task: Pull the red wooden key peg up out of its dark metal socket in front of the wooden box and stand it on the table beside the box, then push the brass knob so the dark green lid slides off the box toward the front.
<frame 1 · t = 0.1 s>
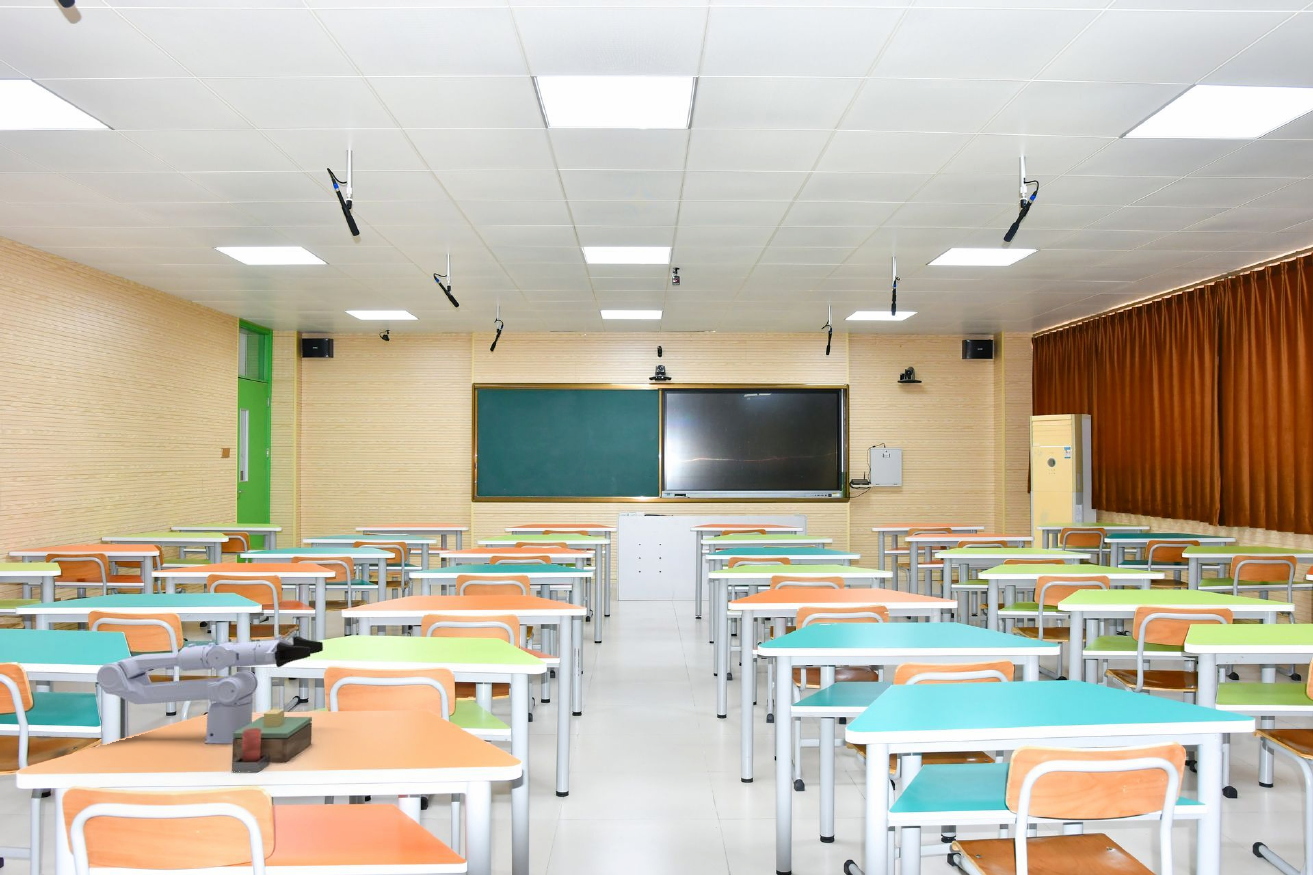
hand: (316, 649, 214), 21 cm above the table, tool horizontal, fingers open, 7 cm apart
lid: (273, 720, 202), point 7 cm above the table, slide at 0.0 cm
key peg: (251, 749, 191), in the key socket
key socket: (250, 767, 191), on the table
wooden box: (273, 752, 202), on the table
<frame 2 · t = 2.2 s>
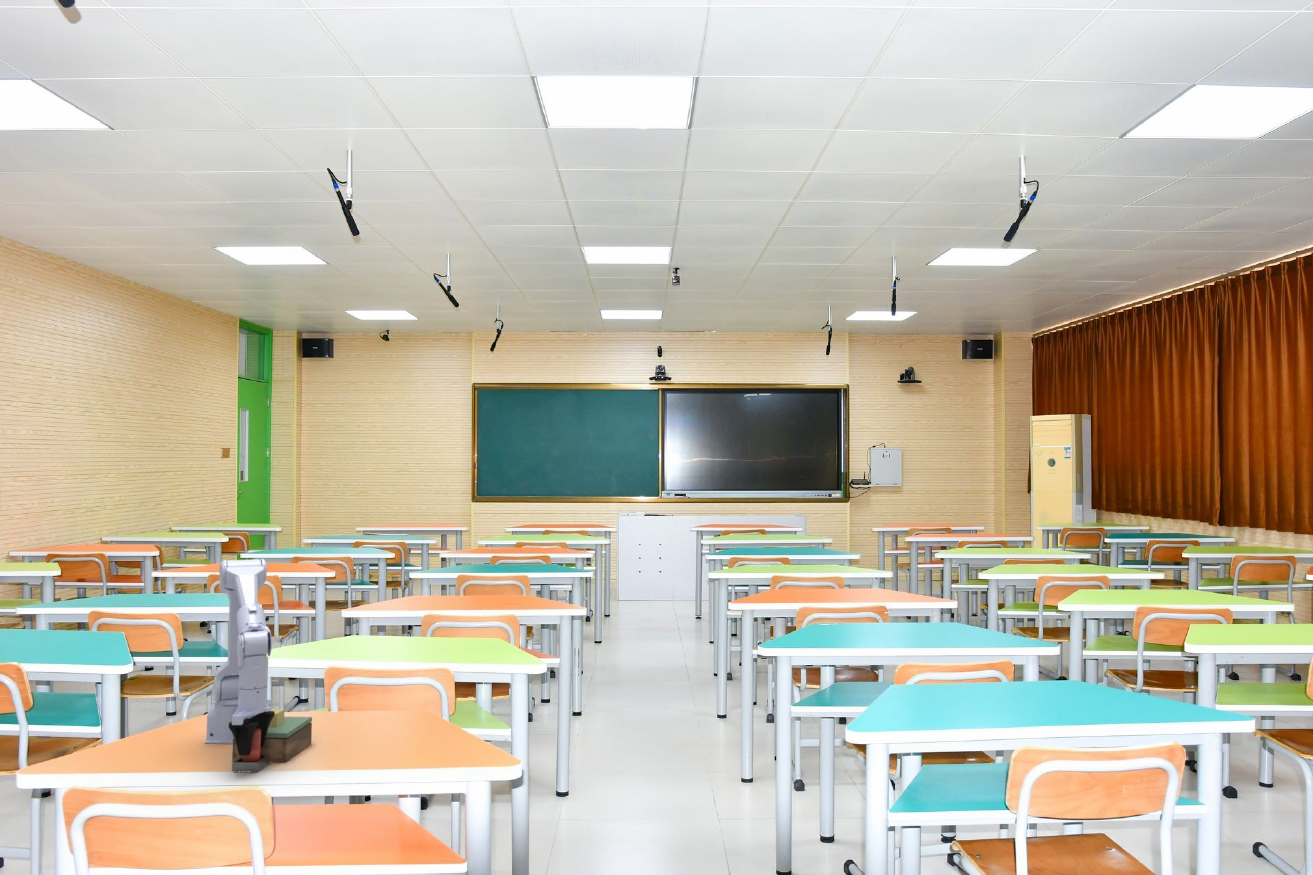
hand: (251, 750, 191), 4 cm above the table, tool pointing down, fingers open, 6 cm apart
lid: (274, 720, 202), point 7 cm above the table, slide at -0.1 cm, touching gripper
everything else where it was.
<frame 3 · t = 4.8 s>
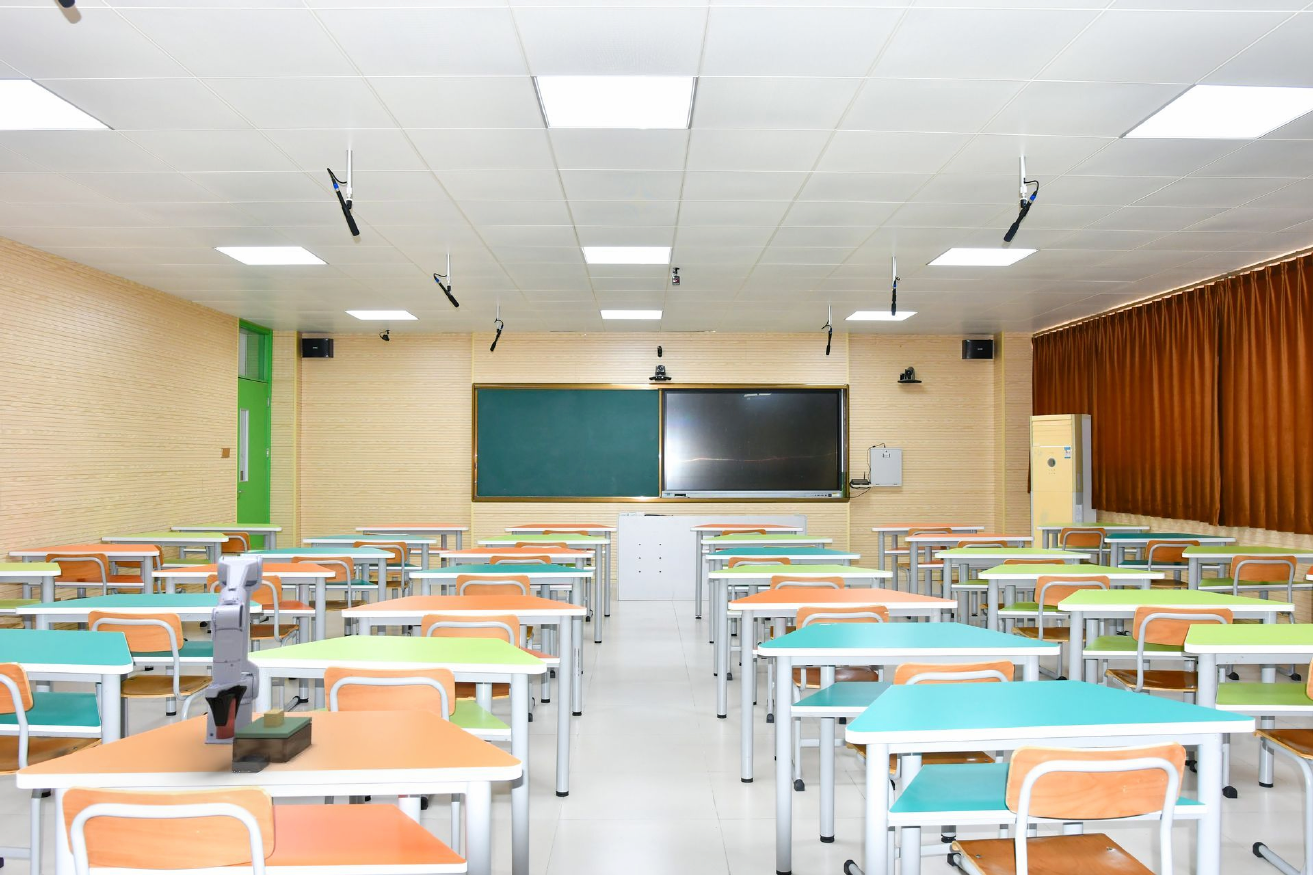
hand: (225, 723, 192), 9 cm above the table, tool pointing down, fingers closed on key peg, 4 cm apart
lid: (274, 720, 202), point 7 cm above the table, slide at 0.0 cm
key peg: (225, 718, 192), point 10 cm above the table, touching gripper
when the fingers open (4 cm above the table, at t = 6.5 s): key peg stays where it is, on the table.
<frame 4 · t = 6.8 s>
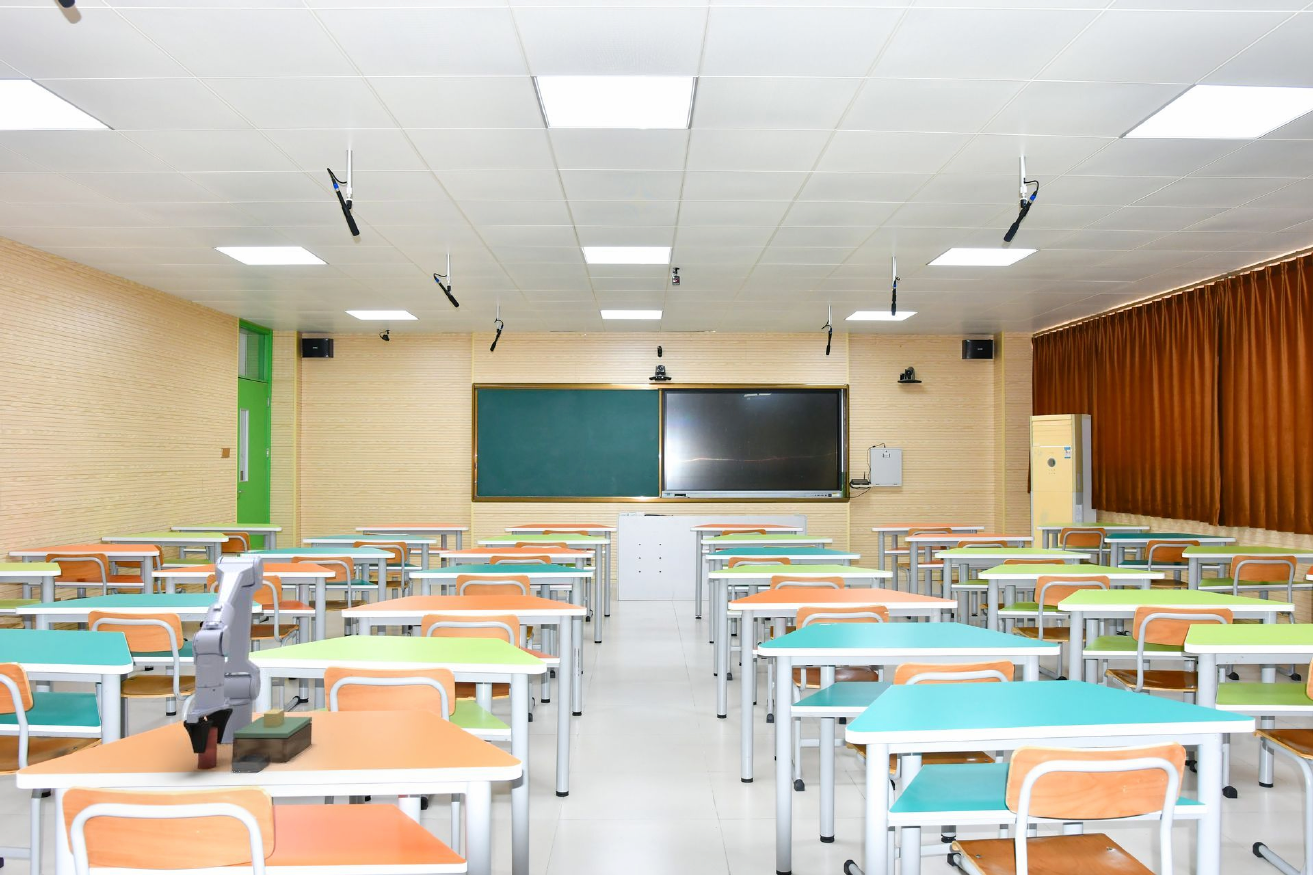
hand: (207, 747, 192), 4 cm above the table, tool pointing down, fingers open, 6 cm apart
key peg: (207, 747, 192), on the table
everything else where it was.
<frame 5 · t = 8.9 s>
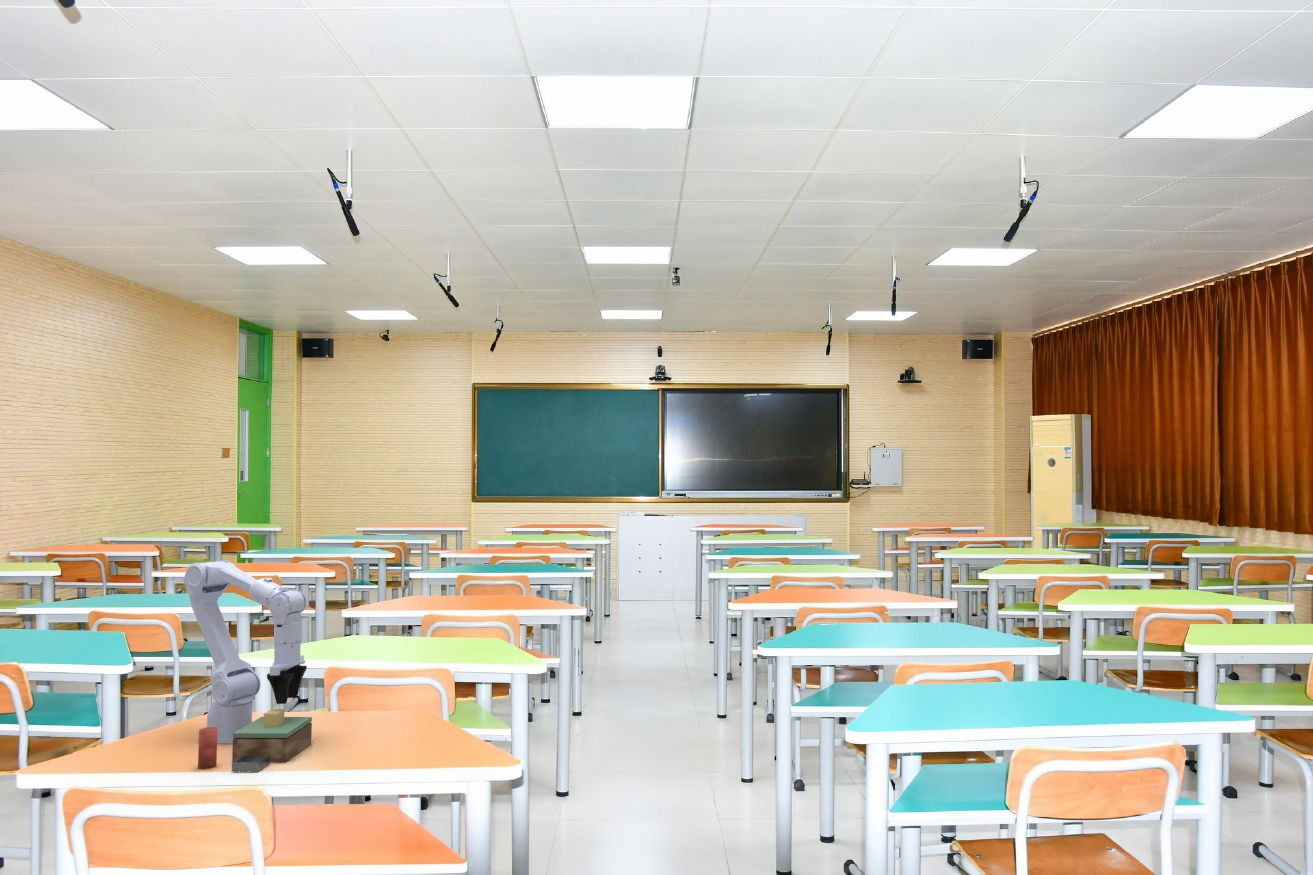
hand: (286, 700, 208), 10 cm above the table, tool pointing down, fingers open, 5 cm apart
nothing on the table moved.
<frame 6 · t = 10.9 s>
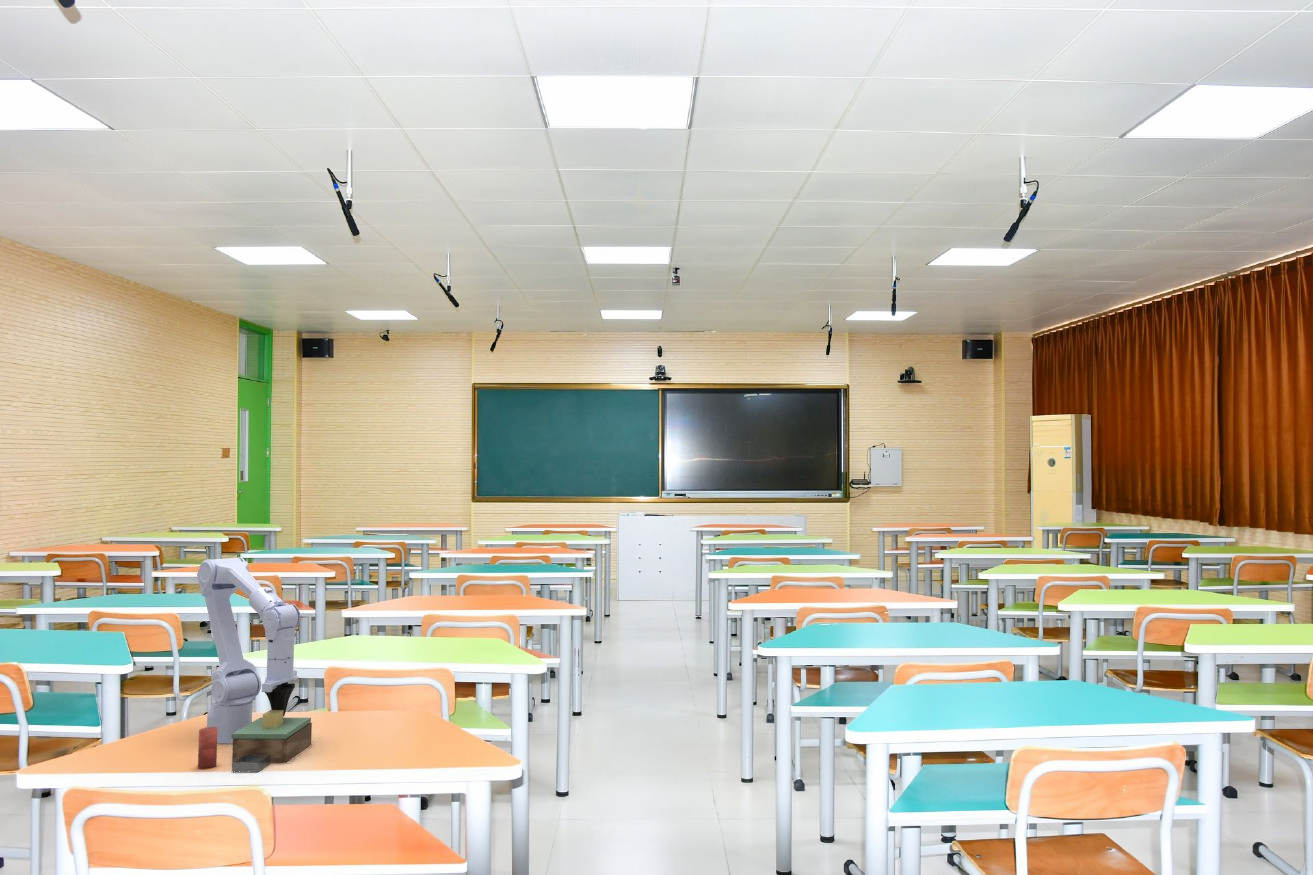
hand: (278, 716, 205), 7 cm above the table, tool pointing down, fingers closed
lid: (272, 720, 201), point 7 cm above the table, slide at 0.6 cm, touching gripper
everything else where it was.
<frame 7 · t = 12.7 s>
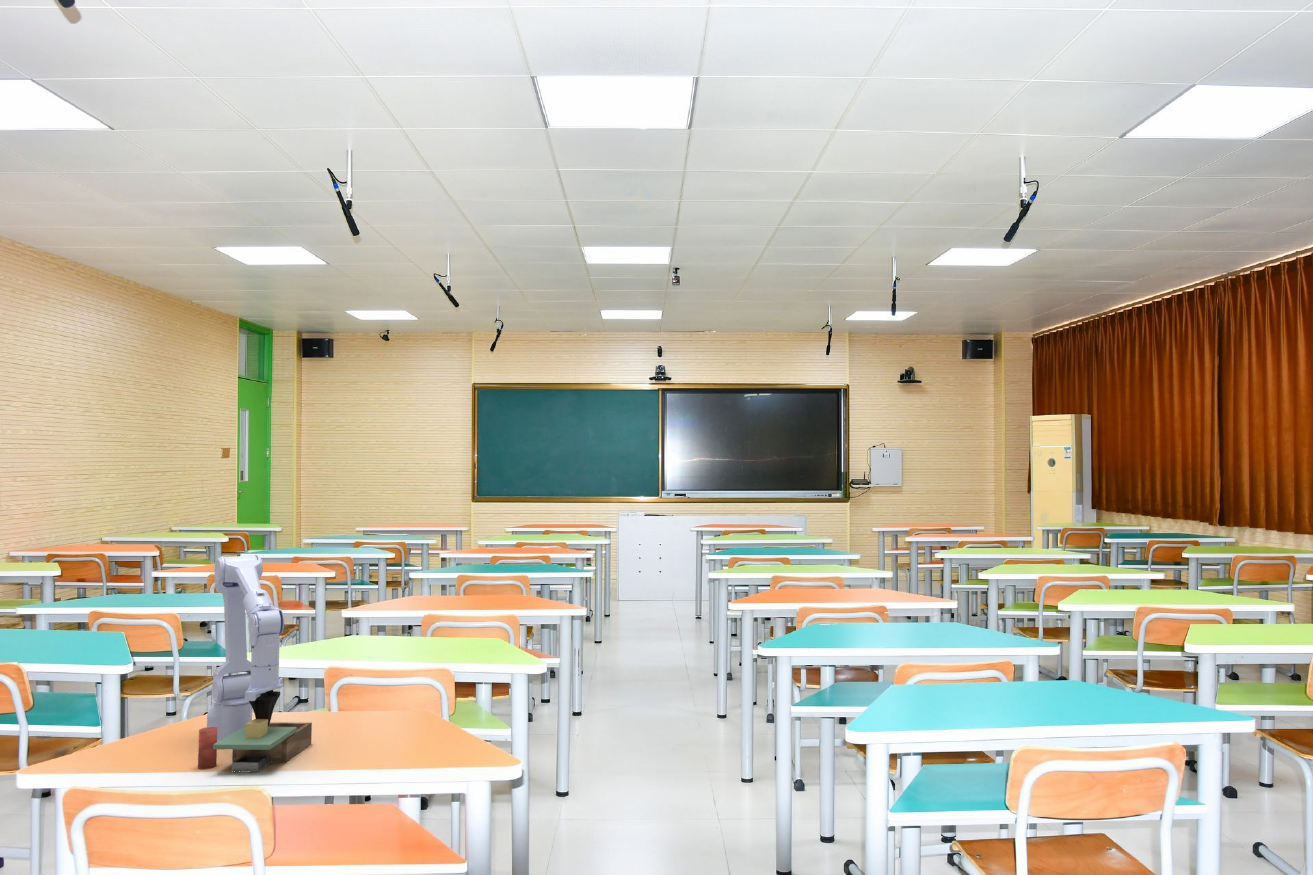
hand: (263, 726, 197), 7 cm above the table, tool pointing down, fingers closed
lid: (256, 730, 193), point 7 cm above the table, slide at 8.7 cm, touching gripper
everything else where it was.
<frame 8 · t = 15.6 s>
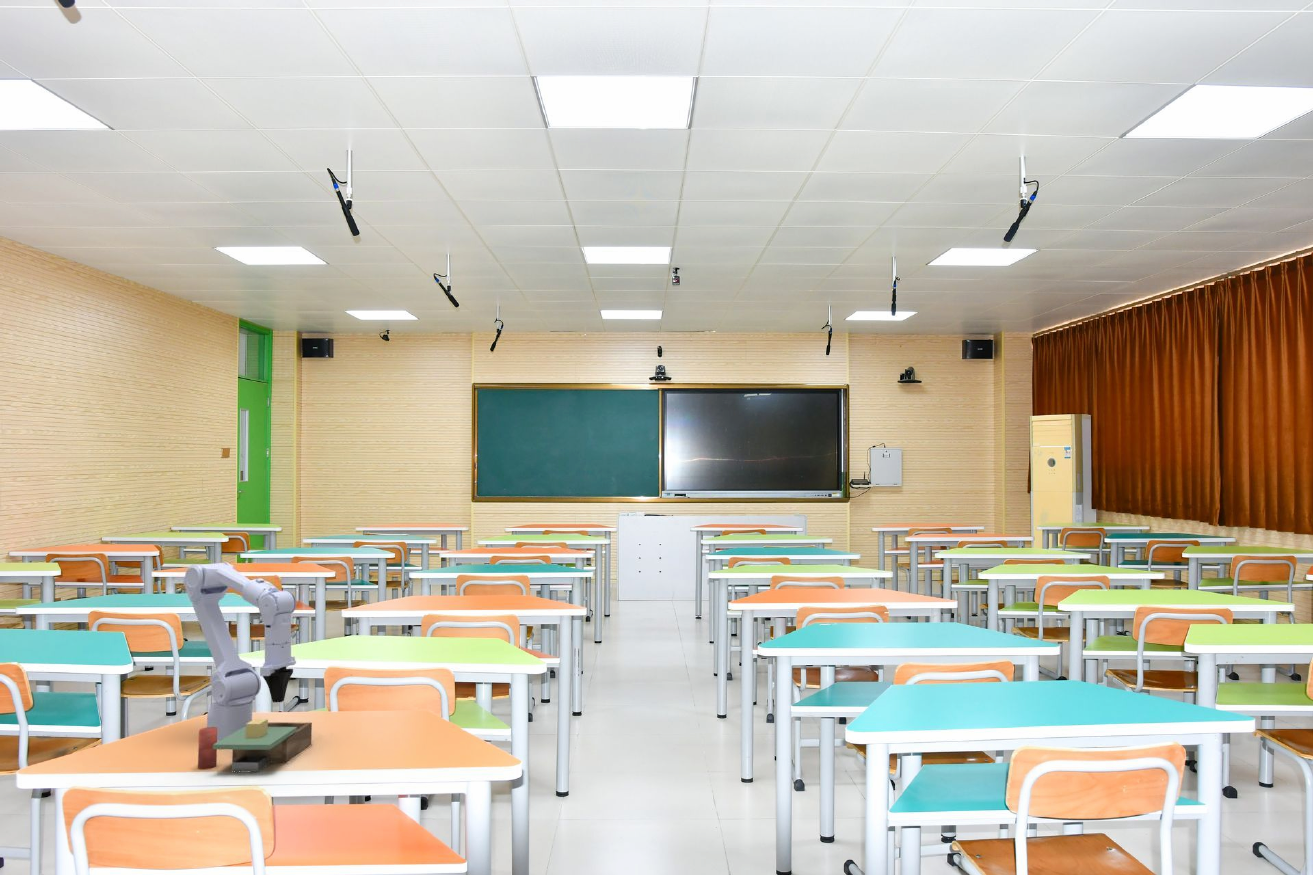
hand: (278, 701, 207), 10 cm above the table, tool pointing down, fingers closed
lid: (256, 730, 193), point 7 cm above the table, slide at 8.7 cm
everything else where it was.
at the end: lid slide at 8.7 cm; key peg 0.0 cm from the target spot, on the table; key peg tilted 0° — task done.
